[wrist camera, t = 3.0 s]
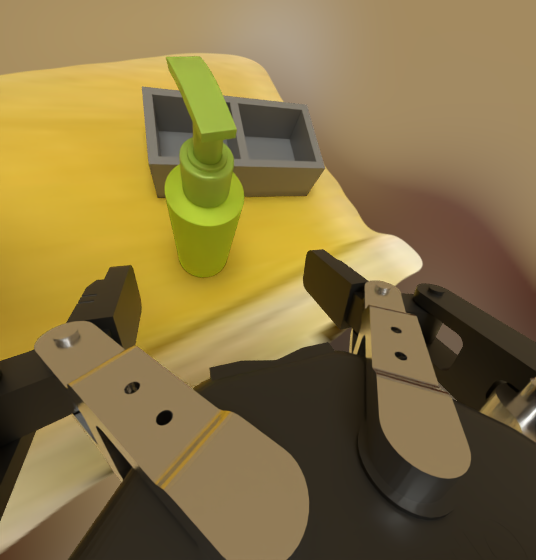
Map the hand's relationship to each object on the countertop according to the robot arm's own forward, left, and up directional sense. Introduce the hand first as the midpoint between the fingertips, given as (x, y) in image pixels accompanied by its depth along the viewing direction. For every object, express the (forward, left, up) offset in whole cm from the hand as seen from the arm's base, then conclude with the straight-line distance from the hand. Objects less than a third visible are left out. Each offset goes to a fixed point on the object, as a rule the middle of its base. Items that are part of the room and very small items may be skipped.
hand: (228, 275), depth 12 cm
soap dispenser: (0, +9, -19) cm, 21 cm away
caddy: (+6, +22, -18) cm, 29 cm away
